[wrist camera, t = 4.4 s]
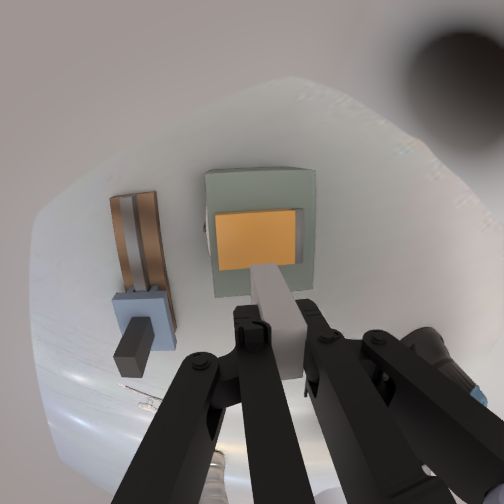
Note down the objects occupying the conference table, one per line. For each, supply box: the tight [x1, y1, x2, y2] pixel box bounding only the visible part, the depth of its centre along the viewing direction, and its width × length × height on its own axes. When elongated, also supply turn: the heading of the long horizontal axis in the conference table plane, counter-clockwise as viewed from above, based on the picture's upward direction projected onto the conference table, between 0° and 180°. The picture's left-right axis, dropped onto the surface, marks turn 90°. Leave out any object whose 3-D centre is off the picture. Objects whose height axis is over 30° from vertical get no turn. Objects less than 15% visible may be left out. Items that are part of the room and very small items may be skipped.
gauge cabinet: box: [203, 167, 316, 298], centre depth 30 cm, size 12×11×10 cm
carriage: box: [112, 285, 177, 378], centre depth 30 cm, size 8×7×12 cm
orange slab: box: [215, 208, 304, 271], centre depth 25 cm, size 5×8×1 cm, turn 92°
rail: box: [110, 191, 177, 332], centre depth 34 cm, size 20×6×4 cm, turn 2°
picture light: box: [119, 384, 163, 413], centre depth 44 cm, size 14×4×2 cm, turn 63°
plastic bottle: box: [199, 452, 229, 504], centre depth 43 cm, size 6×7×20 cm
